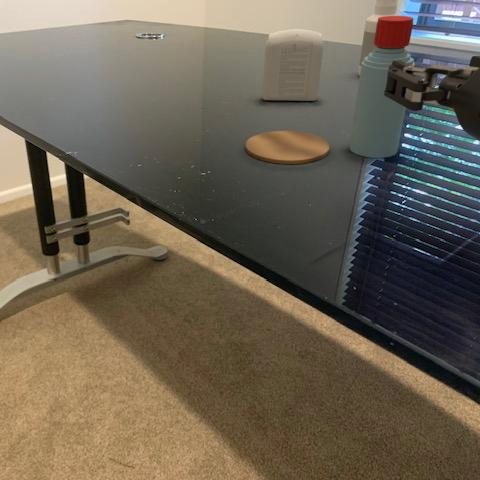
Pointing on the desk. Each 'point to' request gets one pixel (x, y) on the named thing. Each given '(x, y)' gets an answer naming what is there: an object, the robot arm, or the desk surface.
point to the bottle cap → (393, 31)
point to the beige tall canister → (383, 7)
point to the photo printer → (292, 65)
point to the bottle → (377, 106)
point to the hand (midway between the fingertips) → (432, 67)
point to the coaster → (287, 147)
